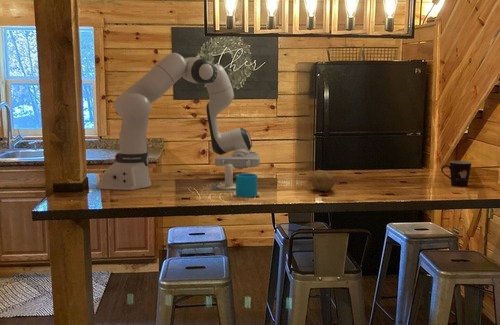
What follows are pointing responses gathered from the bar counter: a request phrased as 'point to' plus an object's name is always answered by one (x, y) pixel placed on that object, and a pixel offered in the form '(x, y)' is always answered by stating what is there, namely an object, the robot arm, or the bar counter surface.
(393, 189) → the bar counter surface
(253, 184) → the mug
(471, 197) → the bar counter surface
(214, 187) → the mat
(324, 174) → the potato
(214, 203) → the bar counter surface
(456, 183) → the coffee mug
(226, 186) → the white post stand
